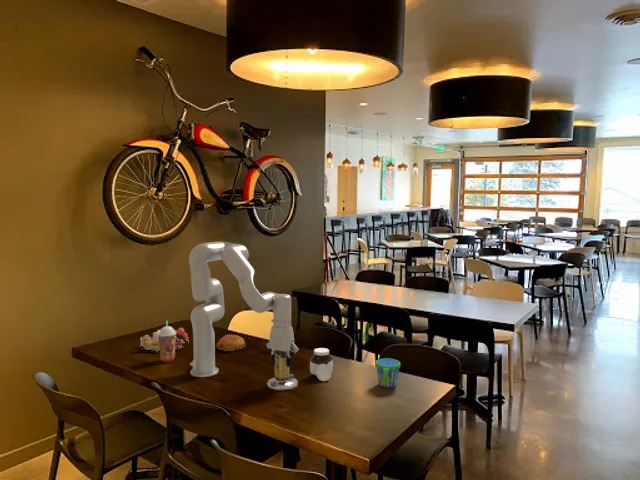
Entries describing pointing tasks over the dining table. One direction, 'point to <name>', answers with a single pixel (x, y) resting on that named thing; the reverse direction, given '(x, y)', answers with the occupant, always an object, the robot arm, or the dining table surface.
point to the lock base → (283, 383)
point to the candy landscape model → (154, 342)
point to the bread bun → (230, 343)
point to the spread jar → (321, 364)
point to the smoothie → (167, 343)
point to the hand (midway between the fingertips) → (282, 364)
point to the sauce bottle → (281, 366)
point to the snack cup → (387, 372)
